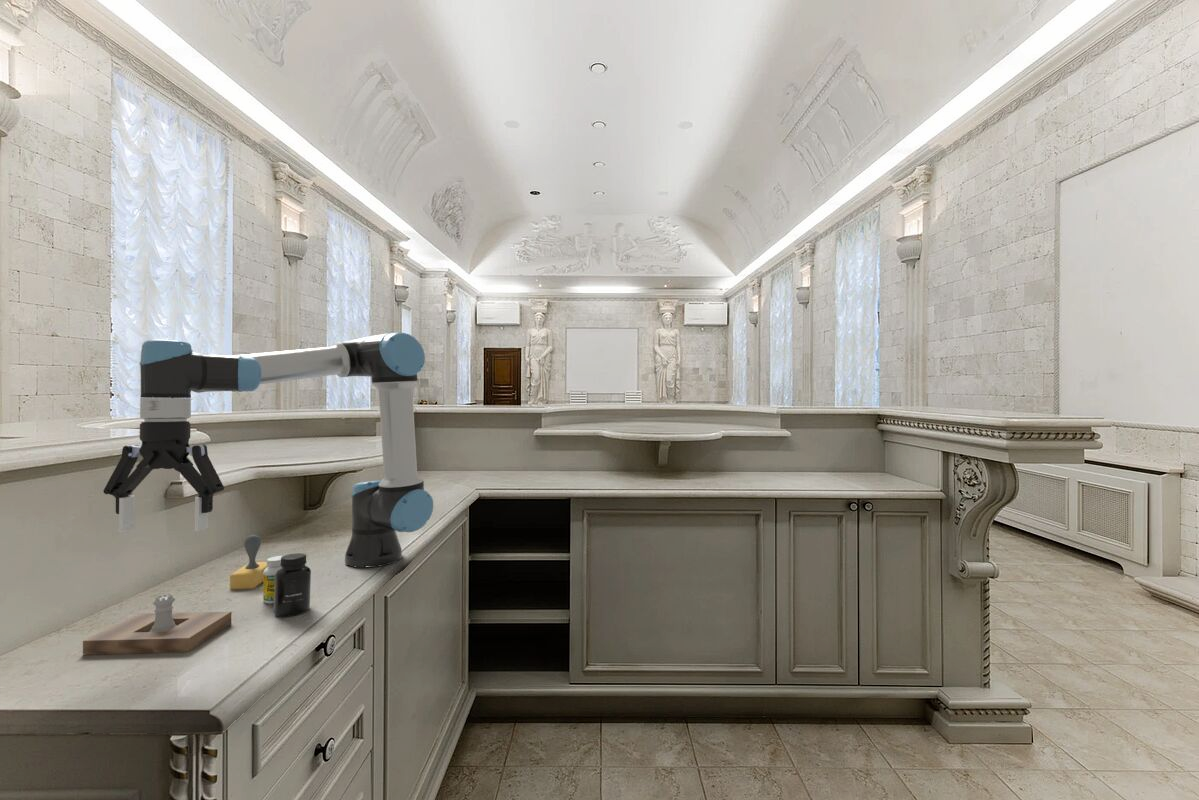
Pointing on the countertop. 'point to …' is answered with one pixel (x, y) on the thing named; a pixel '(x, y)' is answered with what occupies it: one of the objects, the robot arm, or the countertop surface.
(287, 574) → the supplement bottle
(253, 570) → the rubber stamp
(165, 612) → the rook chess piece
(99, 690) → the countertop surface
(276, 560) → the supplement bottle
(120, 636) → the walnut socket board
